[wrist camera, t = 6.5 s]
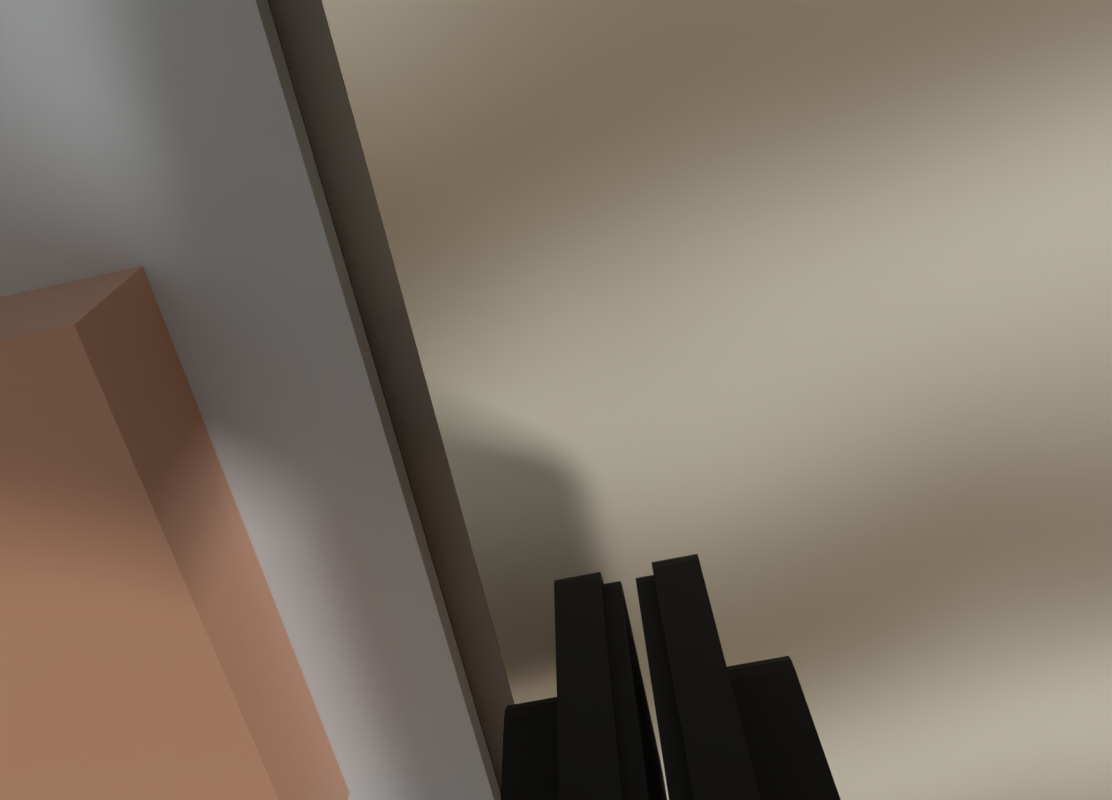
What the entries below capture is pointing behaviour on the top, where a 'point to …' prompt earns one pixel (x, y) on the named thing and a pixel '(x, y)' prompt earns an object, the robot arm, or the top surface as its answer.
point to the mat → (246, 342)
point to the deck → (779, 344)
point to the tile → (132, 575)
